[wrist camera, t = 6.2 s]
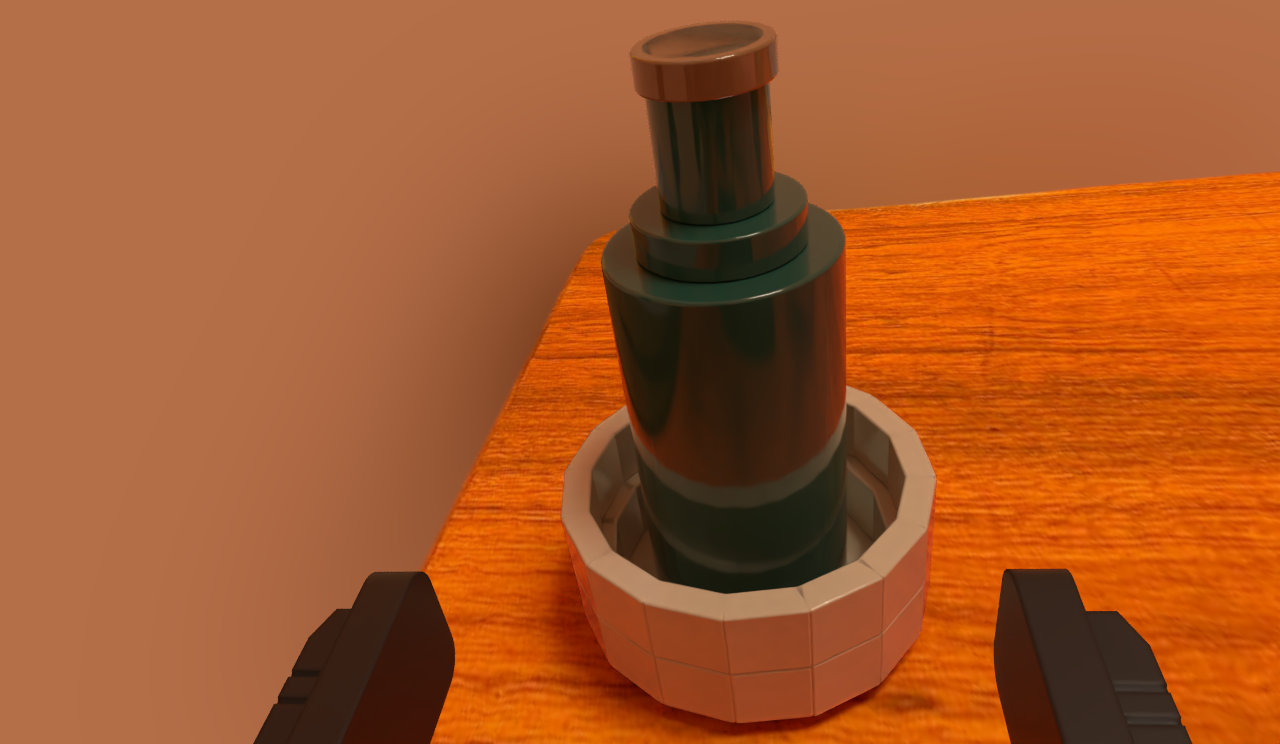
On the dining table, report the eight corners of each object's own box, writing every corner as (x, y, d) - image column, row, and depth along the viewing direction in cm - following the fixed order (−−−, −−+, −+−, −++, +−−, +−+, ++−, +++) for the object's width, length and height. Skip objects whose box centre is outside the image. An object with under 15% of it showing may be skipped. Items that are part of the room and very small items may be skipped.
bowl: (673, 800, 21) (649, 684, 19) (546, 543, 29) (518, 438, 27) (1004, 635, 24) (1021, 514, 21) (805, 440, 32) (801, 335, 29)
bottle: (711, 682, 23) (628, 106, 15) (630, 549, 28) (530, 47, 19) (887, 600, 25) (905, 31, 16) (783, 486, 29) (754, -8, 21)
